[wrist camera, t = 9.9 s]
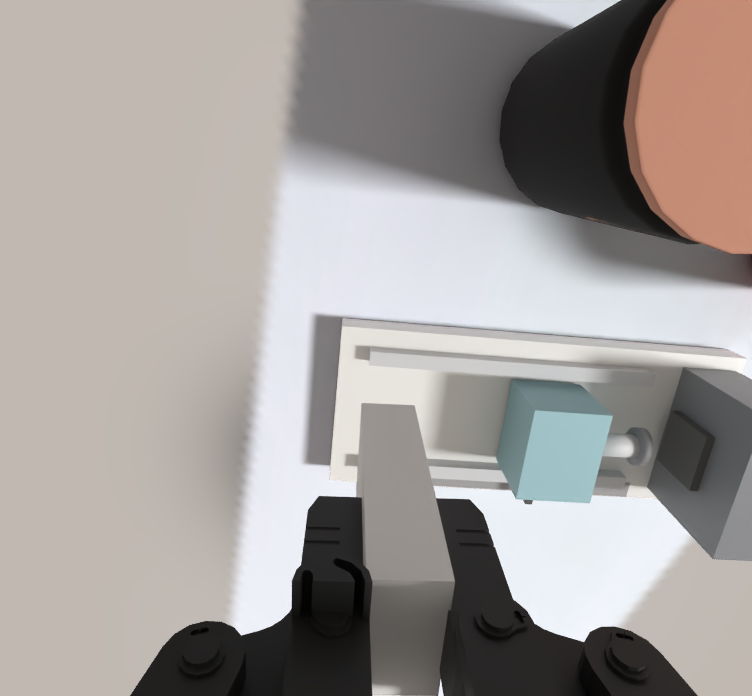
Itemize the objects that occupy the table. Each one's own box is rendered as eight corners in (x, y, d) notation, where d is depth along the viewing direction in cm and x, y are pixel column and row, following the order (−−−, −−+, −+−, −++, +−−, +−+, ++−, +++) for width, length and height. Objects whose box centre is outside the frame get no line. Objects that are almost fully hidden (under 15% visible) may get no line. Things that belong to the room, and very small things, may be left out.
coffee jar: (529, 239, 37) (683, 306, 20) (467, 86, 34) (590, 11, 17) (677, 166, 36) (971, 170, 19) (628, -1, 33) (933, -175, 16)
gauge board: (342, 317, 38) (340, 369, 29) (728, 349, 41) (843, 406, 31) (330, 465, 42) (325, 554, 33) (683, 486, 44) (773, 574, 35)
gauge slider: (511, 379, 38) (535, 410, 33) (634, 388, 39) (673, 420, 34) (490, 490, 41) (508, 533, 36) (604, 497, 42) (637, 540, 37)
